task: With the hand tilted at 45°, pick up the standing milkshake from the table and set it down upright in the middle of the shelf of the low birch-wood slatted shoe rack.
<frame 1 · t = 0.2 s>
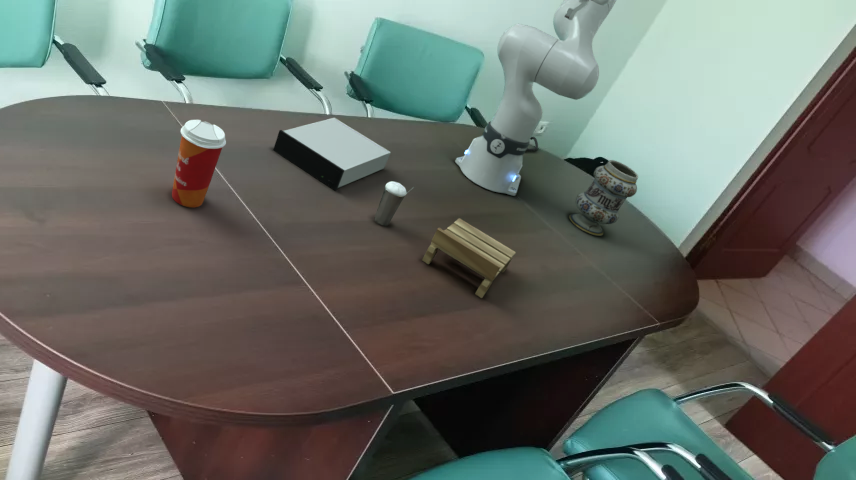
hand: (546, 7, 131), 48 cm above the table, tool pointing down, fingers open, 8 cm apart
shoe rack: (464, 265, 139), on the table
disc drive: (330, 161, 155), on the table
paper cup: (187, 199, 121), on the table
apothecary jar: (585, 225, 181), on the table
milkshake: (382, 222, 141), on the table
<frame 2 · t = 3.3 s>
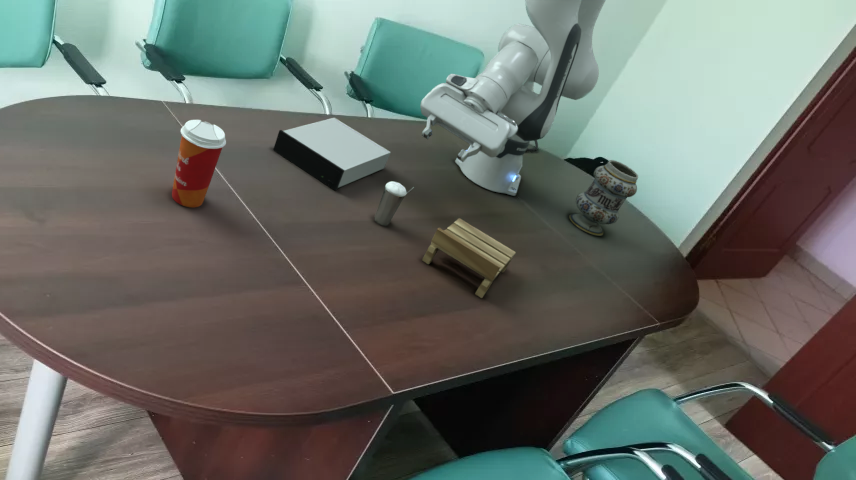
hand: (441, 147, 142), 16 cm above the table, tool tilted 45°, fingers open, 8 cm apart
nothing on the table moved.
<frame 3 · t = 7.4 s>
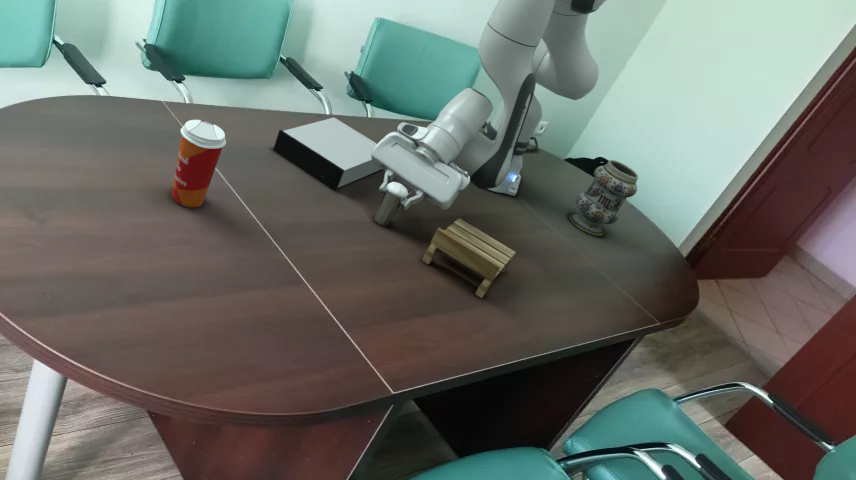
hand: (392, 199, 137), 6 cm above the table, tool tilted 45°, fingers closed on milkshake, 4 cm apart
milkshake: (382, 222, 141), on the table, touching gripper
everything else where it was.
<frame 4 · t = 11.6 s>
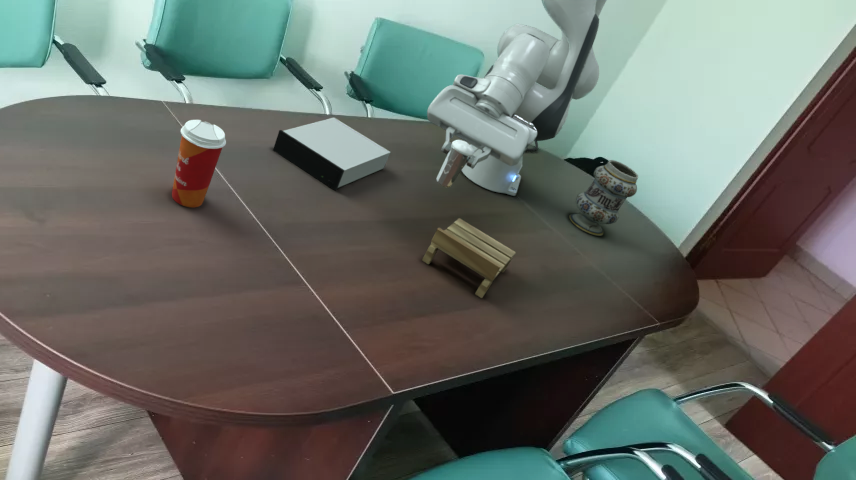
hand: (456, 158, 128), 20 cm above the table, tool tilted 45°, fingers closed on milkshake, 4 cm apart
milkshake: (444, 184, 132), point 14 cm above the table, touching gripper
everything else where it was.
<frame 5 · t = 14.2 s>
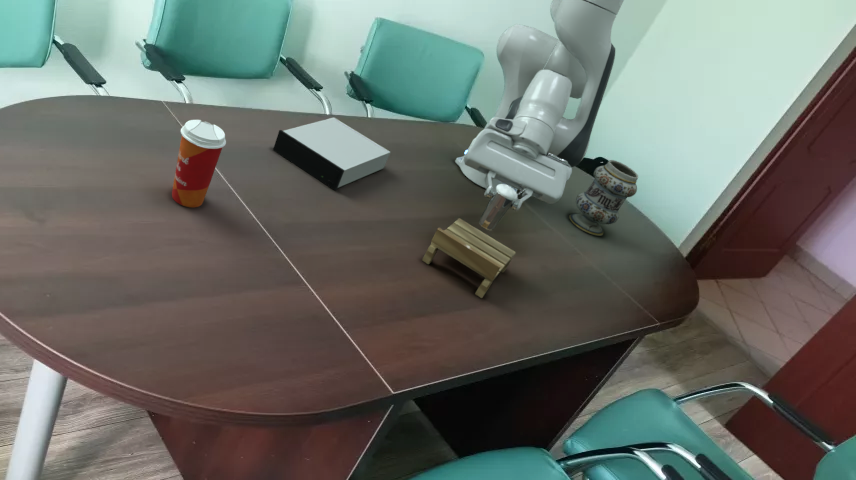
hand: (500, 202, 130), 16 cm above the table, tool tilted 45°, fingers closed on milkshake, 4 cm apart
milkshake: (487, 226, 133), point 10 cm above the table, touching gripper
everything else where it was.
when the fingers open (11 cm above the table, at t = 16.1 s): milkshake stays where it is, resting on shoe rack.
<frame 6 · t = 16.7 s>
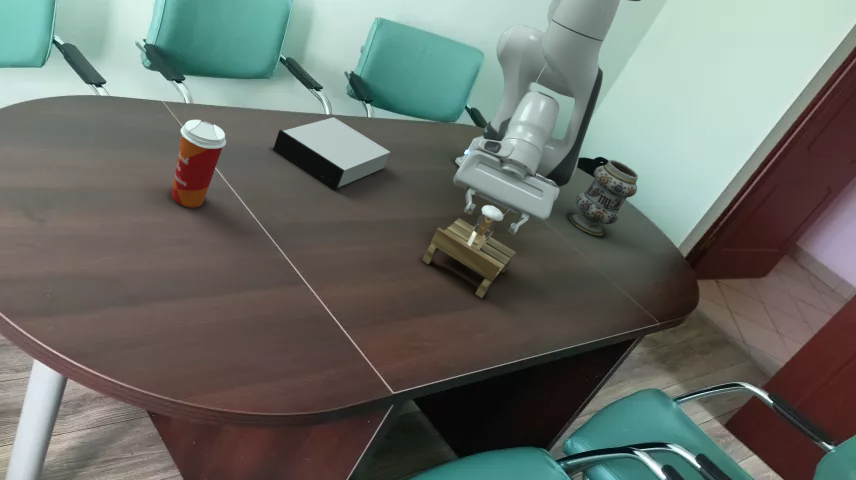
hand: (489, 222, 132), 11 cm above the table, tool tilted 45°, fingers open, 8 cm apart
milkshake: (475, 247, 136), point 5 cm above the table, touching shoe rack
everything else where it was.
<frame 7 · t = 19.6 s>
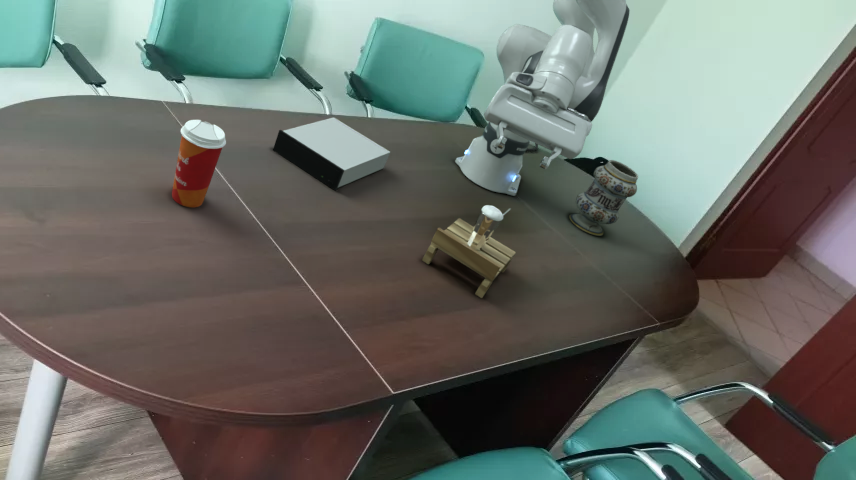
hand: (521, 157, 131), 24 cm above the table, tool tilted 45°, fingers open, 8 cm apart
nothing on the table moved.
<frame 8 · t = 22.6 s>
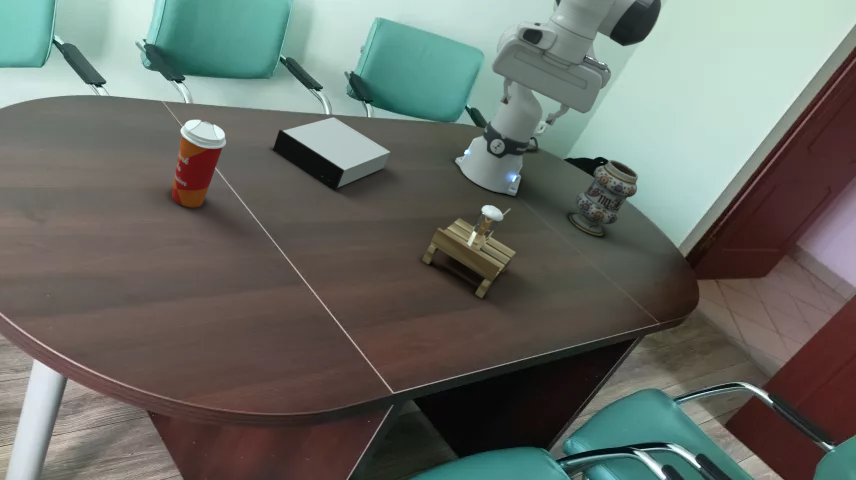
hand: (526, 113, 129), 31 cm above the table, tool pointing down, fingers open, 8 cm apart
nothing on the table moved.
at the end: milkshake inside the target area on the shoe rack (0.0 cm from its centre), point 4.8 cm above the shoe rack's base; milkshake tilted 0°; the gripper is holding nothing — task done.
